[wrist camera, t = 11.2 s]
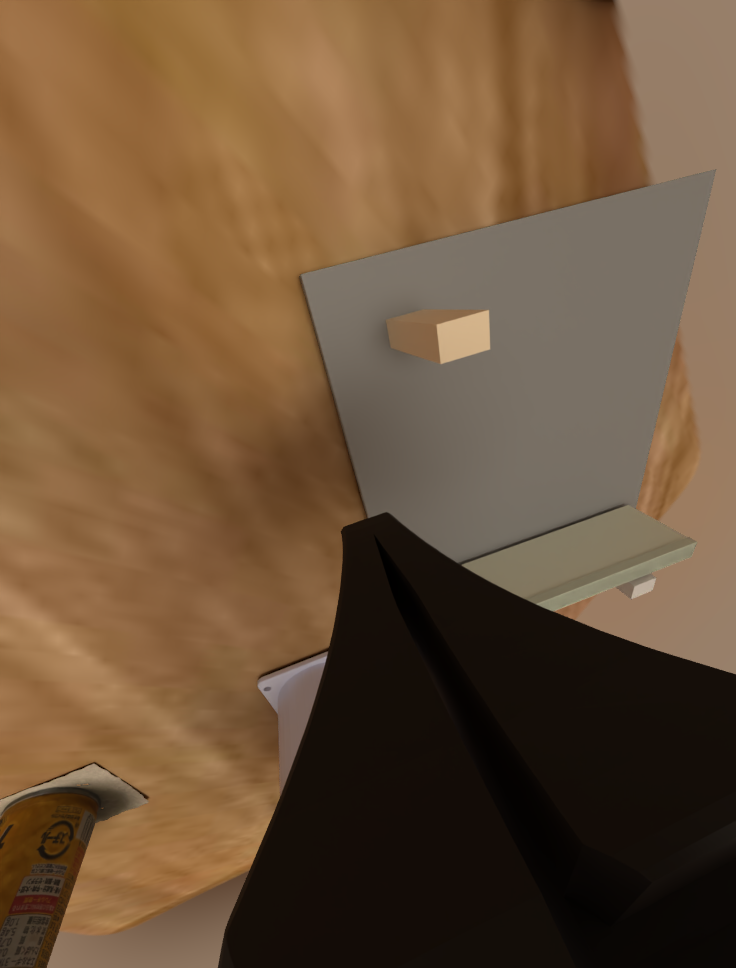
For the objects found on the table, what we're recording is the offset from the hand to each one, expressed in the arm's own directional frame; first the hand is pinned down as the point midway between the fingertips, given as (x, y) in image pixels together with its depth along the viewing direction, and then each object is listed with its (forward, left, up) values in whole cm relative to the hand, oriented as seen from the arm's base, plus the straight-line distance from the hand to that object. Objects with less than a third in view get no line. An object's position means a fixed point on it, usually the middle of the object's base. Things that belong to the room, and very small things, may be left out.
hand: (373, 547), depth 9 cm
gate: (-12, -12, -8) cm, 19 cm away
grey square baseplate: (-4, -11, -9) cm, 15 cm away
